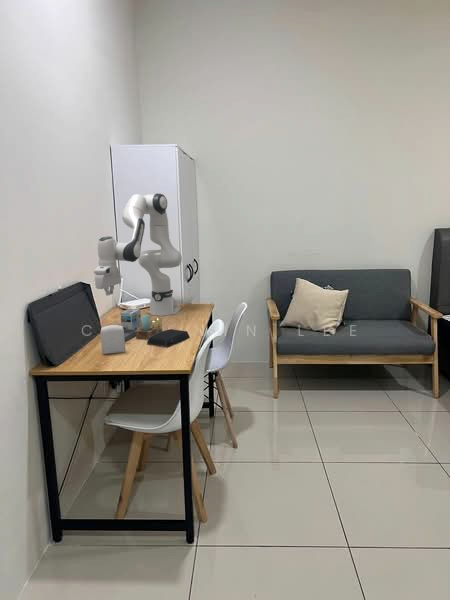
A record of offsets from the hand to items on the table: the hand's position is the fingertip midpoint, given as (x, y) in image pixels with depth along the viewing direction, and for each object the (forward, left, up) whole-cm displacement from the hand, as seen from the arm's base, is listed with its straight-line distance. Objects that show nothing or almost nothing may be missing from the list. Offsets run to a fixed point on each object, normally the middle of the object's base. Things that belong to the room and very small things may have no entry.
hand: (109, 294), depth 239 cm
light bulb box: (-1, +11, -19) cm, 22 cm away
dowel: (+9, +25, -19) cm, 32 cm away
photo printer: (+35, +21, -19) cm, 45 cm away
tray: (+12, +14, -19) cm, 26 cm away
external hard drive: (+13, +38, -20) cm, 44 cm away
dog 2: (-2, +26, -19) cm, 32 cm away
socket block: (+9, +25, -19) cm, 32 cm away
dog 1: (+3, +26, -19) cm, 32 cm away
